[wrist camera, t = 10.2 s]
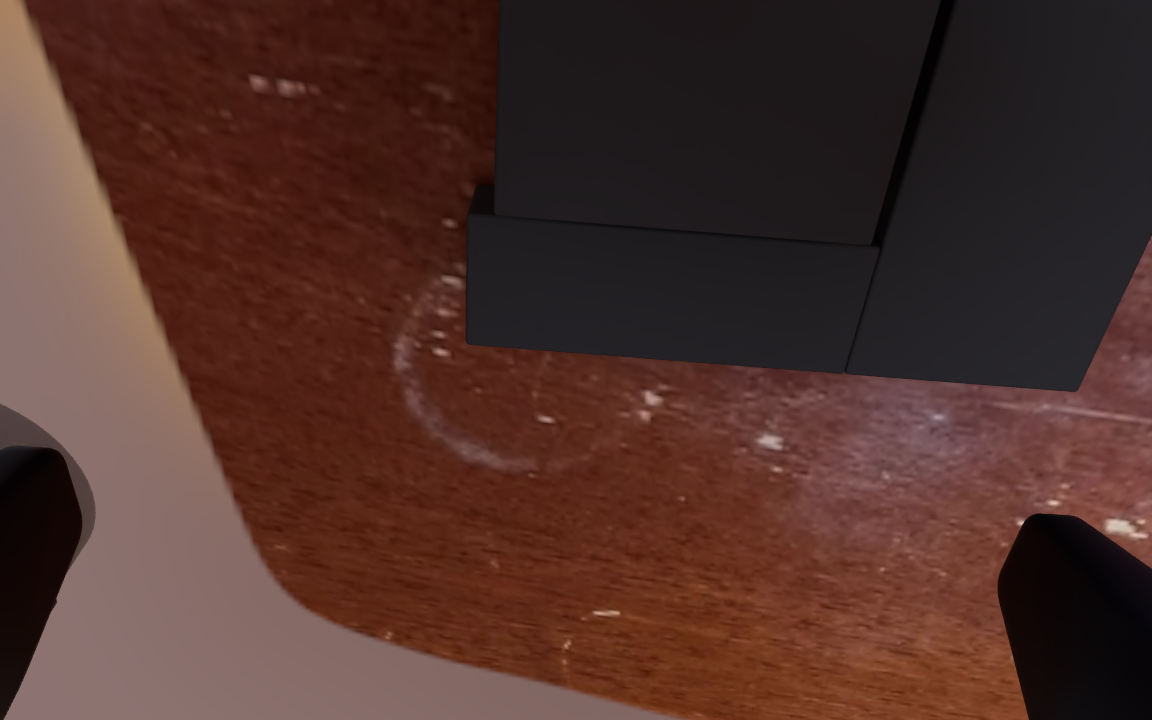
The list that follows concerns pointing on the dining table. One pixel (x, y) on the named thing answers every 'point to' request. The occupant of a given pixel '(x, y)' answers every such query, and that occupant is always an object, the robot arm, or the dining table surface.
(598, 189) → the small pad
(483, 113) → the dining table surface
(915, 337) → the big pad
